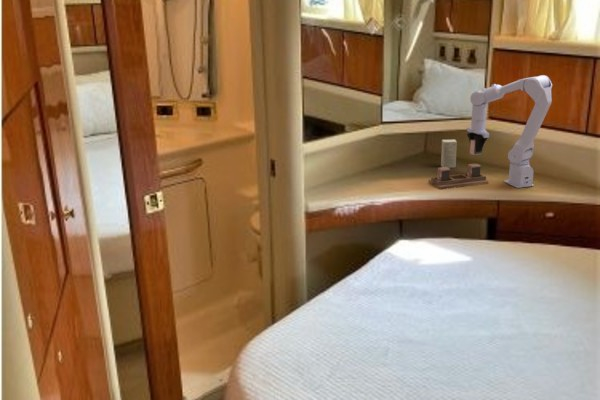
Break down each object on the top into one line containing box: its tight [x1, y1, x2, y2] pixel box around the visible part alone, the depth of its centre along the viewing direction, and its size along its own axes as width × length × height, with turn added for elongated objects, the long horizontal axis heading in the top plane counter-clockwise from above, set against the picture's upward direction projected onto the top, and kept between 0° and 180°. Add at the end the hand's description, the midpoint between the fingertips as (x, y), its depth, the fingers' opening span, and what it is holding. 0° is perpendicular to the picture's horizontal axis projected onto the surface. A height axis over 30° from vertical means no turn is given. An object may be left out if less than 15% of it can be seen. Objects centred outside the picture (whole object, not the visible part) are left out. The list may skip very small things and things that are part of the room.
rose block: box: [469, 140, 483, 156], centre depth 251 cm, size 3×4×6 cm
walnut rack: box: [428, 163, 489, 190], centre depth 242 cm, size 10×22×7 cm, turn 106°
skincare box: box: [440, 139, 458, 169], centre depth 264 cm, size 6×4×12 cm
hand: (476, 150), depth 251 cm, fingers closed on rose block, 3 cm apart
